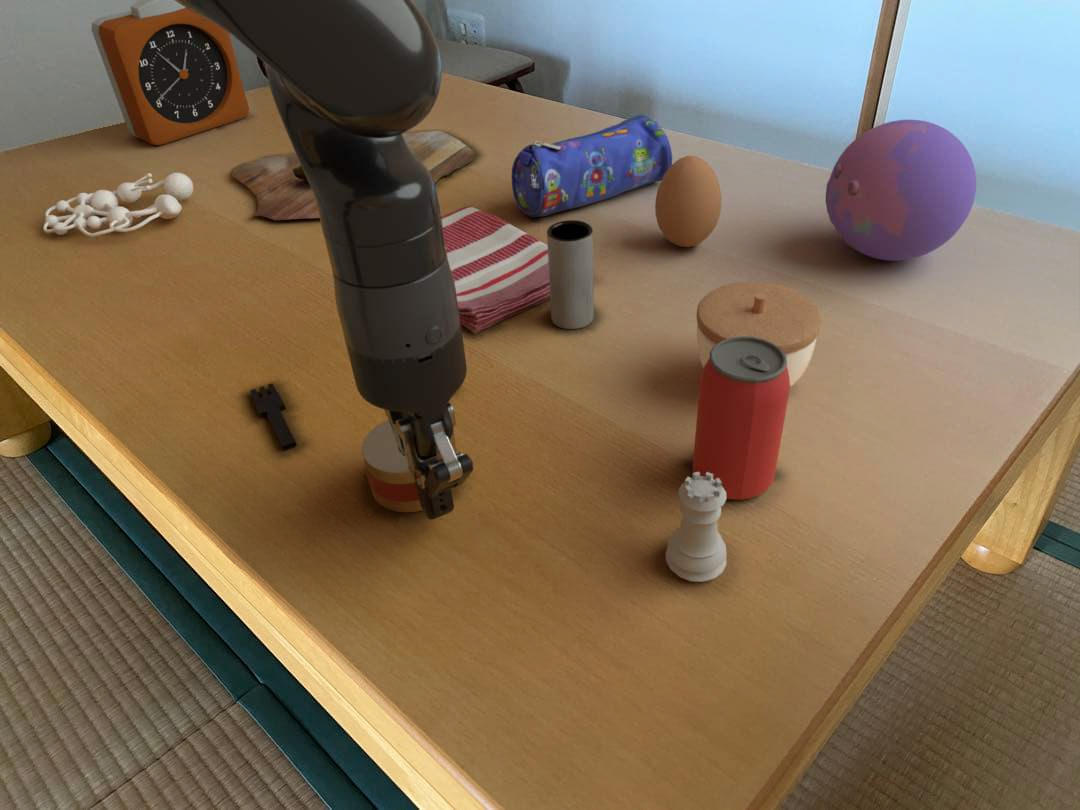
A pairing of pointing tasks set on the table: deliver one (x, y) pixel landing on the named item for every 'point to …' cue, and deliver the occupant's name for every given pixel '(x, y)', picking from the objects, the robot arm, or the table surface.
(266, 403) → the fork
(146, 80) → the alarm clock
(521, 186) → the pencil case
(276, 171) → the cutting board
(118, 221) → the tangled rod sculpture
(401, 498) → the tin can
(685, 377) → the table surface
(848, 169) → the decorative ball
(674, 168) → the egg
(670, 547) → the rook chess piece
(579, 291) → the grey hollow cylinder
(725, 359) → the beer can
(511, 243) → the dish towel
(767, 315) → the trinket box
